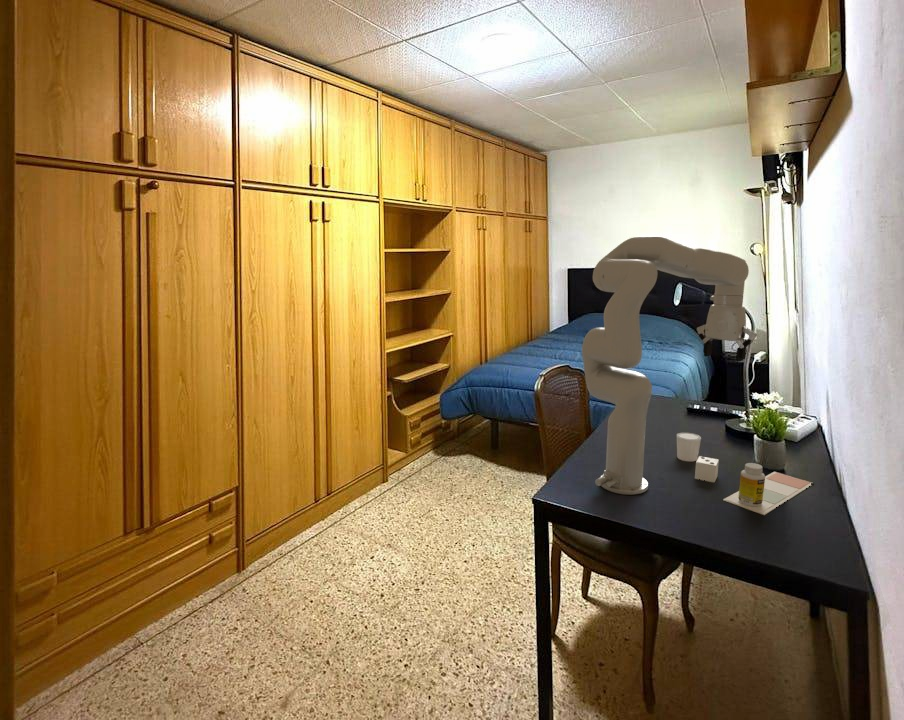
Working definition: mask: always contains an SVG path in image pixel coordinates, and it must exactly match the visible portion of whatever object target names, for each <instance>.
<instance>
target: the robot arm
mask: <svg viewBox="0 0 904 720" xmlns="http://www.w3.org/2000/svg"><path fill="white" fill-rule="evenodd" d="M658 271H660V272H664V273H667V274H670V275H672V276H673V275H674V276H677V277H680V278H685V279H686V278H687V279H694V280H695V281H696V282H698V283H699V284H701V285H710V286H715V288H714V289H715V290H714V294H713V295H710V297H709V300H710V301H713V304H710V307H709V310H708V313H707V317H706V323H705V324H702V325H700V326H698V327H696V331H697V334H698V337H699V338H700V340H701V342H702V344H703V356H704V357H710V356H712V351H713V340H719V341H721V340H722V341H726V342H727V341H728V342H730V341H731V342H735V343H736V344H737V345H738V347H737V348H736V357H735V361H736V362H742V361H744V359H745V358H746V351H747V350H746V349H747V347H749V346H750V345H751V344H752V343H753V342H754V340H755V339H756V338H757V336H758V334H757V333H756V332H754V331H753V330H752V329H750V328H749V327H747V316H746V308H745V305H743V303H744V293H745V291H744V290H745V281H746V280H747V279H748V276H749V272H750V271H749V266H748V263H747V261H746V260H745V258H742V257H740V256H737V255H735V254H731V253H730V252H728V253H727V252H725V251H719V250H713V249H710V248H705V247H701V246H694V245H692V244H689V243H686V242H682V241H680V240H678V239H674V238H671V237H668V236H665V235H635V236H631V237H629V238H627V239H626V240H624V241H623V242H621V243H620V244H619V245H617V246H616V247H615V248H613V249H612V250H611V251H610V252H609V253H607V254H606V255H605V256H604V257H602V258H601V259H600V260H599V261H598V262H597V264H596V265H595V266H594V268H593V272H592V282H593V283H594V286H595V287H596V288H597V289H598V290H600V291H602V292H606V293H613V294H612V296H611V297H610V299H609V300H608V302H607V303H606V306H605V308H604V311H603V327H602V326H601V327H600V326H599V327H594V328H592V329H590V330H588V331H587V333H586V335H585V337H584V338H583V341H582V346H581V355H582V361H583V362H582V363H583V369H584V378H585V384H586V388H587V390H588V393H589V394H590V395H591V396H592V397H593V398H595V399H598V400H600V401H604V402H607V403H611V404H613V405H614V406H615V407H614V409H613V411H612V412H611V413H610V414H609V417H608V420H607V432H606V433H607V438H606V457H605V459H606V460H605V469H604V470H603V474H602V475H600V477H598V478H596V479H595V480H594V484H595V486H597V487H600V486H601V487H602V488H603V489H605V490H607V491H608V492H611V493H615V494H617V495H618V494H620V495H629V496H630V495H631V496H632V495H639V494H643V493H645V492H646V491H647V490H648V489H649V482H648V481H647V479H645V478H644V477H643V476H644V461H645V460H644V459H645V458H644V457H645V442H646V439H645V437H646V425H647V424H646V423H647V414H648V410H649V409H648V408H649V405H650V401H651V397H652V393H653V385H652V382H651V380H650V379H649V378H648V377H647V376H646V375H644V374H643V373H641V372H638V371H635V370H631V369H632V368H635V367H637V366H638V365H639V364H640V363H641V360H642V355H643V349H642V346H643V345H642V338H641V326H640V324H641V323H640V310H641V307H642V306H643V303H644V301H645V299H646V298H647V296H648V295H649V293H650V292H651V291H652V289H653V288H654V286H655V285H656V282H657V279H658ZM746 335H748V337H747V339H746V340H745V337H746Z"/></svg>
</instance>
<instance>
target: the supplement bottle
mask: <svg viewBox="0 0 904 720" xmlns="http://www.w3.org/2000/svg"><path fill="white" fill-rule="evenodd" d="M765 476H766V475H765V473H764V472H763V466H762V465H761V464H759V463H754V462H747V463H745V464H744V469H743V470H741V471H740V478H739V489H738V491H739V497H738V498H739V501H740V502H741V503H743V504H745V505H749V506H759V505H761V504H762V501H763V492H764V483H765Z"/></svg>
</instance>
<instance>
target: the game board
mask: <svg viewBox="0 0 904 720" xmlns="http://www.w3.org/2000/svg"><path fill="white" fill-rule="evenodd" d="M811 483H812V482H811V481H808V480H804V479H801V478H797V477H793V476H790V475H787V474H785V473H781V472H777V471H773V472H771V473H769V474H767V475H765V483H764V492H763V501H762V504H761V505H759V506H749V505H745V504H743V503H741V502H740V501H739V498H738V497H739V490H738V491H736V492H734V493H733V494H730V495H729V496H727V497H724V498H723V499H722V500H723V502H727V503H729V504H733V505H734V506H738V507H741V508H744V509H746V510H748V511H752V512H755V513H757V514H760V515H763V516H766V515H767V514H768V513H770V512H772V511H773V510H775V509H777V508H778V507H780V506H781V505H783V504H784V502H785V503H786V502H788V501H789V500H791V499H792V498H794V497H796V496H797V495H799V494H800V493H802V492H803V491H806V488H807V489H808V488H810V487H811V486H812V485H811ZM809 486H810V487H809ZM787 500H788V501H787ZM779 505H780V506H779ZM776 507H777V508H776Z"/></svg>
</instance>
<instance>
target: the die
mask: <svg viewBox="0 0 904 720" xmlns="http://www.w3.org/2000/svg"><path fill="white" fill-rule="evenodd" d="M719 460H720V459H717V458H713V457H707V456H702V455H698V458H697V460H696V462H695V468H694V469H695V470H694V471H695V472H694V479H695V480H699V479H700V481H704V480H705V481H704V482H709V483H713V484H714V483H715V482H716V480H717V477H718V474H719V473H718V472H719V462H720V461H719Z"/></svg>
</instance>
